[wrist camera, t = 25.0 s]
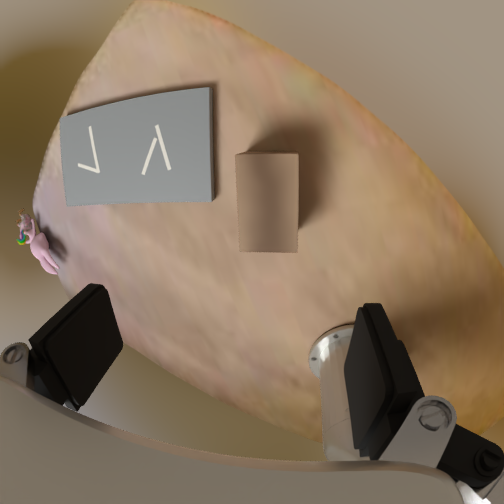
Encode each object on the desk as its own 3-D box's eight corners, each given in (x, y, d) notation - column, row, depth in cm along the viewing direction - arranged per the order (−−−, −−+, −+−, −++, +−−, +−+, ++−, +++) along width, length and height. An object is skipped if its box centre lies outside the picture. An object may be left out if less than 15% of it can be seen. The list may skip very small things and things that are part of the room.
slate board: (212, 89, 30) (209, 87, 28) (214, 199, 35) (211, 201, 34) (66, 118, 32) (59, 118, 31) (72, 204, 38) (66, 206, 36)
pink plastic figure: (25, 224, 43) (60, 278, 43) (2, 230, 37) (37, 290, 37) (31, 200, 40) (69, 256, 41) (8, 205, 35) (44, 267, 35)
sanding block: (296, 151, 32) (298, 153, 25) (295, 231, 35) (297, 252, 29) (245, 151, 32) (235, 154, 26) (248, 230, 36) (239, 251, 30)
